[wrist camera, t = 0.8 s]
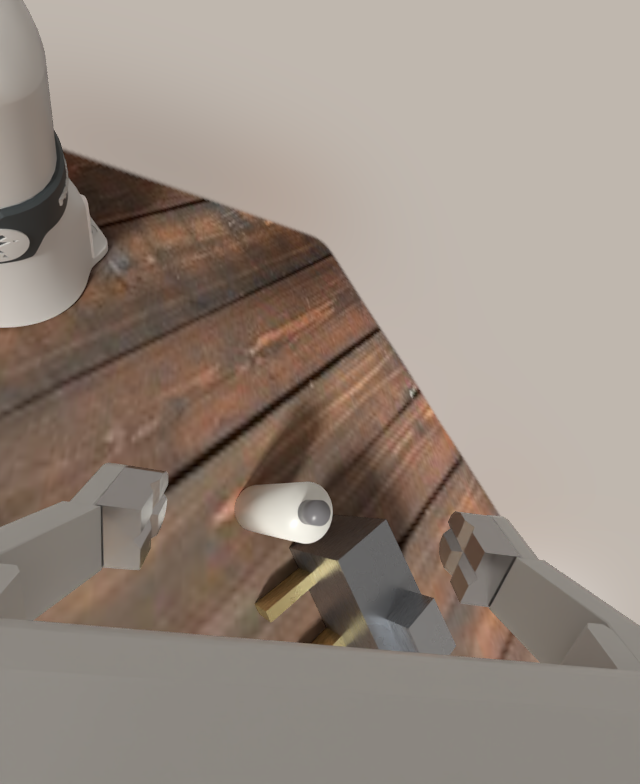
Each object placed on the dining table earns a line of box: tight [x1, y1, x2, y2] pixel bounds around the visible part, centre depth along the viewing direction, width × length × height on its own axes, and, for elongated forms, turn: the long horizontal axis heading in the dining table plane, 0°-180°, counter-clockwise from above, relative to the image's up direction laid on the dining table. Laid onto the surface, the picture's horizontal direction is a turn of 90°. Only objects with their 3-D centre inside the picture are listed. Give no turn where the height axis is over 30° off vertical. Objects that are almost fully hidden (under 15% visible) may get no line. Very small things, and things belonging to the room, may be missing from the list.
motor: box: [255, 515, 456, 655], centre depth 36 cm, size 16×13×13 cm
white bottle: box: [235, 482, 333, 544], centre depth 35 cm, size 5×5×14 cm
